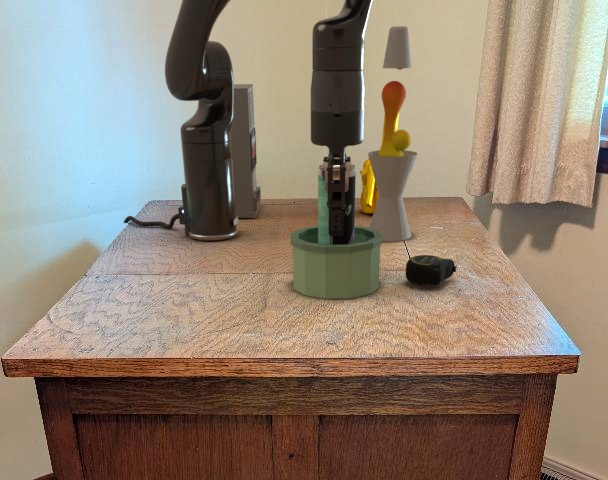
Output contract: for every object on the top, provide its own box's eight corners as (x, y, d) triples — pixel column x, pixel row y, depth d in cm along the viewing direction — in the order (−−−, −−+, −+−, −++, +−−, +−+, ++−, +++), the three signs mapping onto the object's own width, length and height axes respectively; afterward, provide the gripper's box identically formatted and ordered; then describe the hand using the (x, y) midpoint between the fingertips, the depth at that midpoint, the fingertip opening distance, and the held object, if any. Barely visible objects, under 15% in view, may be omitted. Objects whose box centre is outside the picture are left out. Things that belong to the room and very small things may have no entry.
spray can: (350, 291, 110) (353, 151, 100) (315, 289, 111) (314, 150, 101) (355, 281, 114) (358, 145, 104) (321, 279, 115) (321, 145, 105)
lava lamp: (359, 239, 137) (365, 26, 119) (373, 228, 144) (381, 26, 127) (405, 243, 134) (418, 26, 117) (417, 232, 142) (431, 26, 124)
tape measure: (437, 292, 109) (439, 268, 107) (397, 285, 112) (398, 261, 110) (455, 281, 114) (457, 257, 112) (416, 274, 117) (417, 251, 115)
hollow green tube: (275, 291, 110) (273, 240, 106) (317, 268, 121) (317, 221, 117) (356, 304, 104) (358, 251, 100) (393, 279, 115) (395, 230, 111)
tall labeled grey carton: (257, 219, 153) (251, 88, 141) (228, 219, 154) (220, 88, 141) (261, 205, 165) (256, 84, 153) (235, 205, 165) (228, 84, 153)
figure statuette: (359, 204, 166) (362, 98, 154) (393, 204, 165) (399, 97, 154) (357, 221, 150) (360, 105, 139) (395, 221, 150) (401, 105, 139)
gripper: (312, 102, 106) (313, 220, 115) (308, 112, 94) (309, 242, 102) (363, 102, 106) (360, 220, 114) (365, 111, 93) (362, 242, 102)
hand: (336, 230), depth 108 cm, fingers closed on spray can, 5 cm apart
